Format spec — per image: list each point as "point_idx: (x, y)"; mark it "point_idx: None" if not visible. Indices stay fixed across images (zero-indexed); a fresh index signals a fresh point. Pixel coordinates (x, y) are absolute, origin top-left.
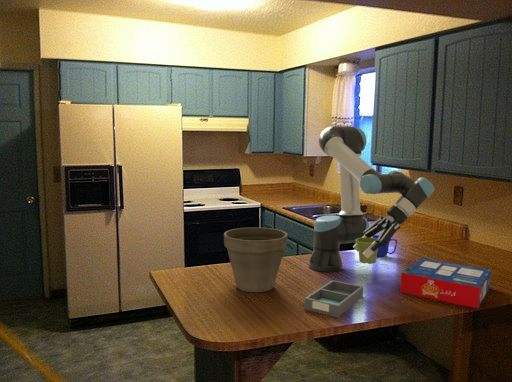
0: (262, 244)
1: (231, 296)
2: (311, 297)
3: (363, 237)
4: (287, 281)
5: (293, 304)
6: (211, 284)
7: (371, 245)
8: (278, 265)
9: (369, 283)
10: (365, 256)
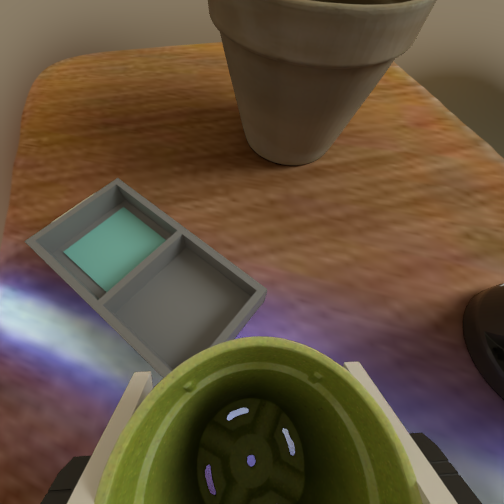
0: None
1: (229, 100)
2: (135, 201)
3: (420, 490)
4: (334, 201)
5: (164, 184)
6: None
7: (84, 474)
8: (265, 110)
9: None
10: None
